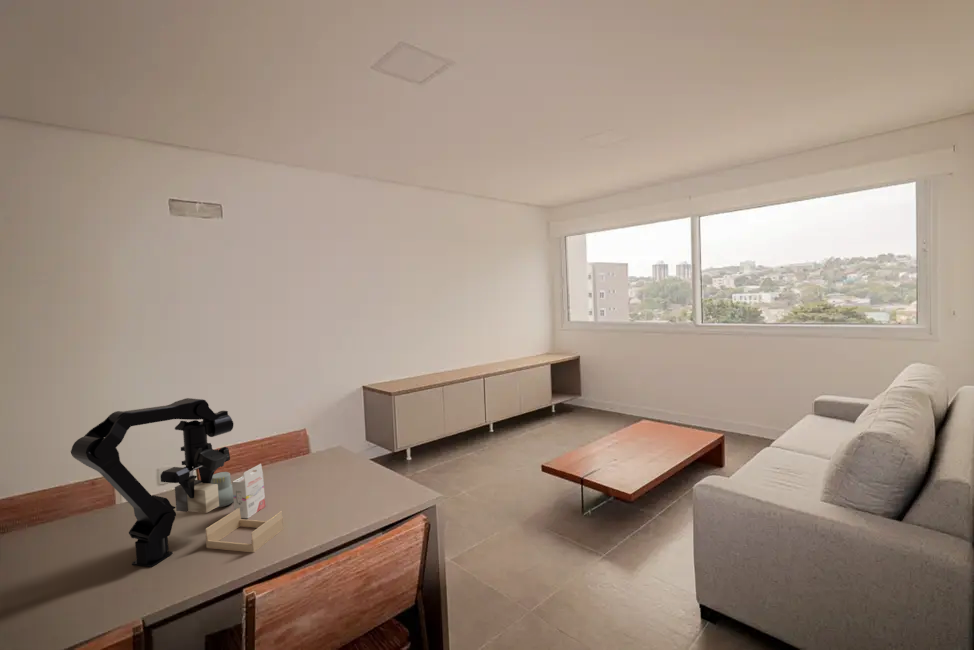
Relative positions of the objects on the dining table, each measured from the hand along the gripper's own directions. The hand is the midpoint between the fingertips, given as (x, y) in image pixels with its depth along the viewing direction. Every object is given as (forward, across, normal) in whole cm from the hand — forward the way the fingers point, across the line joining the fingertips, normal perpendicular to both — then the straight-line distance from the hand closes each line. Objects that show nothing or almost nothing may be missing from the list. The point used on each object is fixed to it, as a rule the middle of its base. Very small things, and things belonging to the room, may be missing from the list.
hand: (199, 494), depth 135 cm
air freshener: (+12, +18, +10) cm, 24 cm away
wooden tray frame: (+12, +1, -15) cm, 19 cm away
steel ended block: (+4, 0, 0) cm, 4 cm away
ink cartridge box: (+12, +15, -4) cm, 19 cm away
